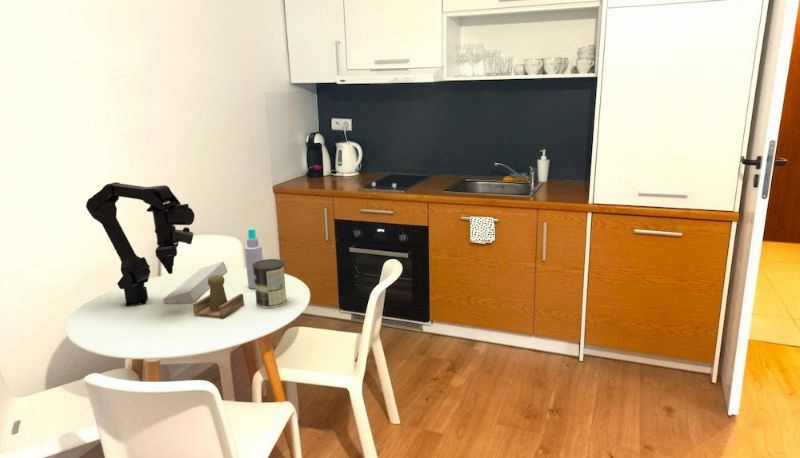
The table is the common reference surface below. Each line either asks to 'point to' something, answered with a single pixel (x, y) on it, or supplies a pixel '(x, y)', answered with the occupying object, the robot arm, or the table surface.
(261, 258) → the spray bottle
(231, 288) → the table surface
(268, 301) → the coffee can
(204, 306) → the tray
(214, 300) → the cork
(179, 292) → the light grey block
